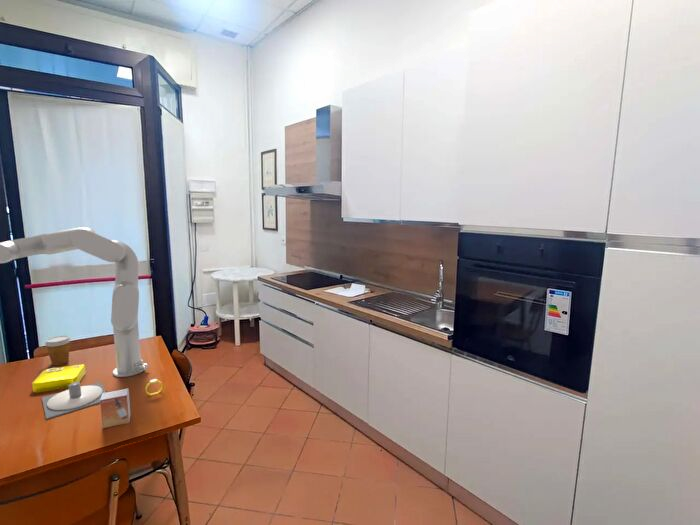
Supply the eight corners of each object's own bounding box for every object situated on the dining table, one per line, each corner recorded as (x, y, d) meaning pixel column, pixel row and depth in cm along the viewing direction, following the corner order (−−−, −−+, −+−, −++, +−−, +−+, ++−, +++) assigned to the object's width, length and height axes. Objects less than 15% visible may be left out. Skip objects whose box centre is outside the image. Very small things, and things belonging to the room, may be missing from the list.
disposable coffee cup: (69, 356, 176) (66, 333, 174) (75, 361, 171) (73, 338, 169) (44, 363, 168) (41, 339, 167) (51, 368, 163) (48, 344, 161)
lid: (106, 398, 137) (105, 384, 136) (49, 416, 126) (47, 401, 125) (98, 383, 149) (96, 370, 148) (45, 397, 138) (43, 383, 137)
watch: (147, 398, 140) (144, 384, 138) (146, 395, 142) (143, 381, 141) (163, 392, 143) (161, 379, 142) (162, 390, 145) (160, 376, 144)
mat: (110, 400, 137) (109, 398, 137) (46, 419, 124) (45, 418, 124) (100, 382, 151) (100, 381, 151) (42, 398, 138) (41, 397, 138)
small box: (101, 429, 119) (98, 400, 118) (104, 420, 124) (101, 392, 123) (129, 423, 123) (127, 394, 121) (130, 414, 128) (128, 387, 126)
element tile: (31, 394, 141) (29, 383, 141) (45, 378, 155) (44, 367, 154) (76, 387, 147) (75, 376, 147) (86, 372, 161) (85, 362, 160)
